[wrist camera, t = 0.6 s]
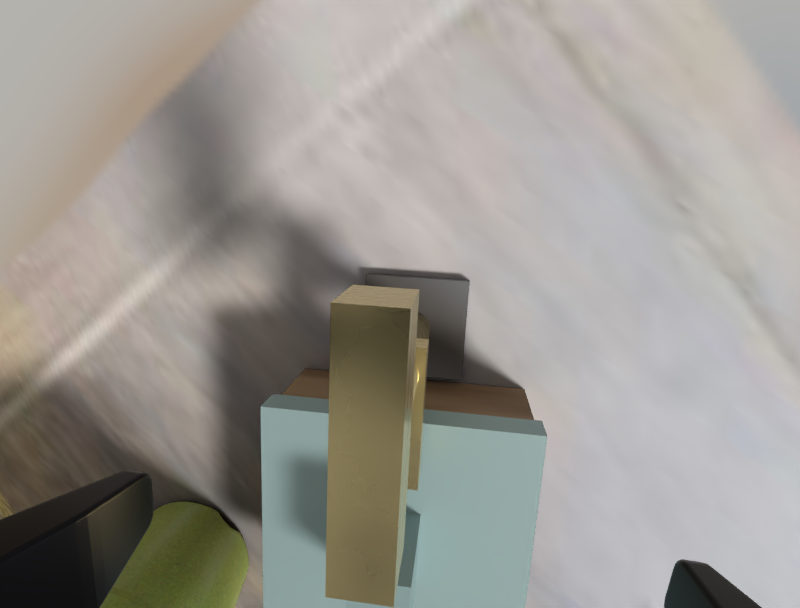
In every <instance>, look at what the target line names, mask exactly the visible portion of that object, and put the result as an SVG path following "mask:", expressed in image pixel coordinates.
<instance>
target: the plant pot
mask: <svg viewBox="0 0 800 608" xmlns="http://www.w3.org/2000/svg"><path fill="white" fill-rule="evenodd" d="M248 566H249V559H248V552H247V548H246V545H245V542H244V540H243V538H242V536H241V534H240V533H239V532H238V531H236V530H234V529H232V528H231V527H230V526H229V525H228V524H227V523H226V522H225V521H224V520H223V519H222V517H221V516H220V514H219V513H218V512H217V511H216V510H214V509H212V508H210V507H207V506H204V505H202V504H198V503H193V502H173V503H169V504H165V505H163V506H161V507H159V508H158V509H156V510H154V511H153V518H152V521H151V524H150V526H149V528H148V529H147V531H146V533H145V534H144V536H143V538H142V539H141V541H140V543H139V544H138V546H137V548H136V549H135V551H134V553H133V554H132V556H131V558H130V559H129V561H128V563H127V564H126V566H125V567H124V569H123V571H122V572H121V574H120V576H119V577H118V579H117V581H116V582H115V584H114V586H113V587H112V589H111V591H110V592H109V594H108V596H107V597H106V599H105V600H104V602H103V603H102V605H101V606H100V608H234V607H235V605H236V602H237V599H238V597H239V594H240V591H241V589H242V586H243V583H244V581H245V578H246V575H247V572H248Z"/></svg>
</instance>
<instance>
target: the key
mask: <svg viewBox="0 0 800 608" xmlns="http://www.w3.org/2000/svg"><path fill="white" fill-rule="evenodd" d="M418 305H419V289H405V288H391V287H378V286H364V285H352V286H351V287H349V288H348V289H347V290H346V291H344V292H343V293H342V294H341V295H339V296H338V297H337V298H336V299H334V300H333V301H332V302H331V319H330V372H329V424H328V477H327V530H326V583H325V597H327V598H334V599H341V600H348V601H354V602H361V603H368V604H375V605H382V606H388V607H394V602H395V596H396V590H397V584H398V578H399V572H400V566H401V560H402V554H403V548H404V536H405V520H406V503H407V489H410V490H418V484H419V478H420V468H421V453H422V438H423V423H424V408H425V393H426V378H427V363H428V348H429V339H428V338H429V334H430V324H429V322H428V320H427V319H426V318H425V317H424V316H423V315H421V314H418Z"/></svg>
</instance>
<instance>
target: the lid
mask: <svg viewBox="0 0 800 608" xmlns="http://www.w3.org/2000/svg"><path fill="white" fill-rule="evenodd" d="M328 424H329V399H319V398H310V397H300V396H290V395H280V394H272V395H271V396H270V397H269V398H268V399H267V400H266V401H265V402H264V403H263V404H262V406H261V473H262V540H263V606H264V608H525V605H526V597H527V589H528V582H529V574H530V566H531V558H532V551H533V543H534V535H535V528H536V520H537V512H538V504H539V497H540V489H541V481H542V473H543V466H544V458H545V450H546V443H547V434H546V431H545V428H544V426H543V423H542V421H538V420H528V419H518V418H508V417H498V416H488V415H478V414H468V413H458V412H448V411H438V410H429V409H424V423H423V438H422V453H421V468H420V478H419V484H418V490H410V489H407V503H406V520H405V536H404V548H403V554H402V560H401V566H400V572H399V578H398V584H397V590H396V596H395V602H394V607H388V606H382V605H375V604H368V603H361V602H354V601H348V600H341V599H334V598H327V597H325V583H326V530H327V477H328Z"/></svg>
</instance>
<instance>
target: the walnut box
mask: <svg viewBox="0 0 800 608" xmlns="http://www.w3.org/2000/svg"><path fill="white" fill-rule="evenodd" d="M366 286H378V287H391V288H405V289H419V305H418V314H421V315H423V316H424V317H425V318H426V319H427V320H428V322H429V324H430V334H429V338H428V339H429V348H428V363H427V377H433V378H444V379H454V380H461V376H462V364H463V352H464V340H465V328H466V317H467V305H468V293H469V280H460V279H446V278H432V277H417V276H403V275H389V274H375V273H367V274H366ZM329 372H330V371H326V370H316V369H304V371H303V372H302V373H301V374H300V375H299V376H298V377H297V378H296V379H295V380H294V382H293V383H292V384H291V385H290V386H289V387H288V388H287V389H286V390H285V391H284V393H283V394H282V395H290V396H300V397H310V398H319V399H329ZM424 409H429V410H438V411H448V412H458V413H468V414H478V415H488V416H498V417H508V418H518V419H528V420H534V418H533V415H532V412H531V409H530V406H529V403H528V399H527V396H526V393H525V390H524V389H518V388H507V387H496V386H486V385H475V384H465V383H454V382H443V381H433V380H426V393H425V408H424Z"/></svg>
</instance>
